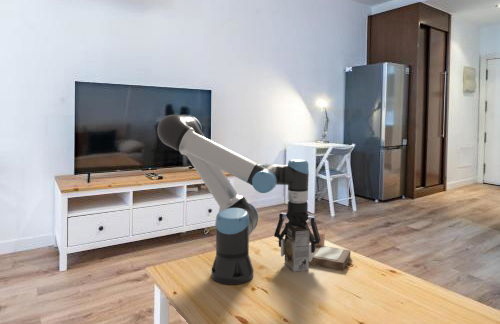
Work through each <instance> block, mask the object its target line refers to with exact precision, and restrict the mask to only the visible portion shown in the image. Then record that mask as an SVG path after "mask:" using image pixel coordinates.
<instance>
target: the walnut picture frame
mask: <svg viewBox="0 0 500 324" xmlns="http://www.w3.org/2000/svg"><path fill="white" fill-rule="evenodd" d="M350 259H351V250H350V249H345V248H338V247H332V246H325V245H324V246H320V245H316V246H315V252H314V253H313V259H312V260H311V262H309V265H312V266H318V267H322V268H328V269H333V270H337V271H344V270H345V268H346V266H347V264H348V263H349V261H350Z"/></svg>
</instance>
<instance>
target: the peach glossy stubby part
mask: <svg viewBox="0 0 500 324" xmlns="http://www.w3.org/2000/svg"><path fill="white" fill-rule="evenodd" d="M310 231H311V233H312V235H313V236H314V234H313V230H310ZM318 232H319V236H320V239H321V241H320V242H319V243H318V244H316V245H320V246H325V241H326V240H325V238H326V237H325V235H326V234H325V231H321V230H318ZM310 243H311V242H310V241H309V244H310ZM316 245H315V246H316Z"/></svg>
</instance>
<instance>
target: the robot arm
mask: <svg viewBox="0 0 500 324" xmlns="http://www.w3.org/2000/svg"><path fill="white" fill-rule="evenodd" d="M157 135H158V138H159V140H160V141H161V142H162V143H163V144H164V145H165V146H167V147H169V148H171V149H173V150H175V151H178V152H179V153H180V154H181V155H184V156H186V157H187V159H188V160H189V162H190V163H191V164H192V166H193V168H194V169H195V170H196V173H197V174H198V176H199V177H200V179H201V180H202V182H203V183H204V185H205V186H206V188H207V190H208V191H209V193H210V194H211V195H212V197H213V198H214V200H215V202H216V203H217V205H218V207H219V208H218V212H217V214H216V216H215V249H216V250H215V258H214V261H213V264H212V267H211V273H210V274H211V279H212V280H213V281H215V282H216V283H218V284H223V285H232V286H233V285H241V284H244V283H248V282H250V281H251V280H252V279H253V277H254V266H253V263H252V261H251V258H250V255H249V254H250V253H249V250H250V246H249V245H250V235H251V234H252V233H253V231H254V230H255V229H256V227H257V226H258V222H259V212H258V210H257V208H256V207H255V206H254V205H253V204H251V203H249V202H248V200H247V199H246V197H245V196H244V195H242V194H241V195H240V194H238V193H237V191H236V189H235V188H234V186H233V185H232V183H231V181H230V180H229V179H228V177H227V175H226V174H225V173H227V174H229V175H231V176H233V177H235V178H237V179H239V180H241V181H243V182H245V183H247V184H249V185H251V186H252V187H253V188H254V190H255V191H256V192H257V193H260V194H268V193H269V192H272V190H274V188H275V187H276V186H277V185H278V186H279V185H280V186H284V185H285V186H286V185H287V200H288V201H287V209H286V210H287V212H284V211H282V212H281V213H279V215H278V216H279V217H278V219H279V220H278V223H277V226H276V228H275V231H274V234H273V236H274V238H277V240H278V247H279V248H280V257H285V233H286V231H287V229H288V226H290V225H291V224H292V225H297V226H301V227H302V228H307V227H308V228H309V229H310V227H309V226H308V223H307V220H308V221H309V223H310V226H311V229H312V230H313V234H314V236H313V235H312V233H311V231H312V230H310V234H309V241H310V242H311V243H310V244H309V262H311V260H312V259H313V253H314V252H315V245H316V244H318V243H319V242H320V241H321V239H320V236H319V232H318V231H319V229H318V225H317V217H316V216H315V215H313V216H311V215H309V214H308V211H309V210H308V209H309V208H308V207H309V205H308V204H309V203H308V200H309V177H310V176H309V175H310V174H309V162H308V161H307V160H306V159H298V158H297V159H289V160H288V163H287V164H269V163H262V164H261V163H257V162H255V161H253V160H251V159H249V158H247V157H245V156H243V155H241V154H239V153H237V152H235V151H233V150H231V149H228V148H227V147H225V146H223V145H222V144H219V143H217V142H214V141H213V140H211V139H209V138H207V137H206V136H205V134H204V133H203V127H202V124H201V123H200V121H199V119H197V118H196V117H195V116H192V115H190V114H183V113H182V114H169V115H166V116H164V117H163V118H161V119H160V121H159V122H158V125H157ZM224 172H225V173H224ZM286 218H287V219H288V222H286V223H287V225H286V227H285V226H284V228H283V229H282V227H283V225H284V222H285V219H286ZM281 230H282V231H281Z"/></svg>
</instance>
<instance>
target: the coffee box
mask: <svg viewBox="0 0 500 324" xmlns="http://www.w3.org/2000/svg"><path fill="white" fill-rule="evenodd" d="M287 223H288V222H285V223H284V228H285V227H286V225H287ZM308 227H309V226H308ZM308 227H307V228H302V227H301V226H297V225H292V224H291V225H290V226H288V229H287V231H286V233H285V235H284V238H285V255H284V263H285V264H286V265H287V266H288V267H289V268H290V270H292V271H293V272H302V271H308V270H309V265H310V264H309V234H310V231H311V229H310V227H309V228H308Z"/></svg>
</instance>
